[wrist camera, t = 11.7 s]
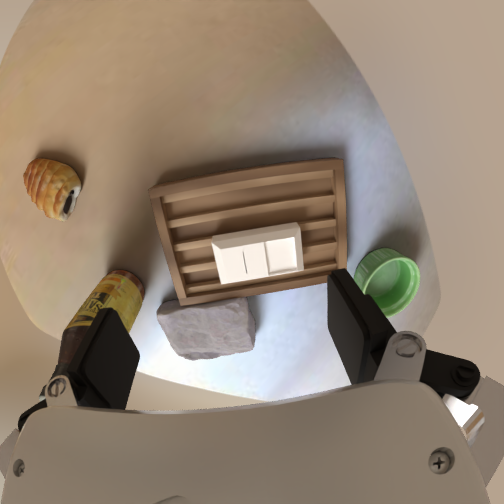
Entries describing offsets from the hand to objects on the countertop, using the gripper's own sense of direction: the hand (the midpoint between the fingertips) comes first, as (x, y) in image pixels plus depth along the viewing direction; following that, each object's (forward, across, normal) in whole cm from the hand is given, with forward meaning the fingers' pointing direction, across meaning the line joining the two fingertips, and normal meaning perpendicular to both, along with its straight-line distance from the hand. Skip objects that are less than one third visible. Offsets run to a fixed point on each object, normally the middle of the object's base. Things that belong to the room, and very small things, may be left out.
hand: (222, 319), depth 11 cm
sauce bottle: (+20, +16, +9) cm, 27 cm away
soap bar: (+18, -2, +6) cm, 19 cm away
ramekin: (+20, -18, +13) cm, 30 cm away
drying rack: (+20, -2, +4) cm, 20 cm away
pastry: (+21, +21, -7) cm, 30 cm away
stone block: (+20, +6, +16) cm, 26 cm away
